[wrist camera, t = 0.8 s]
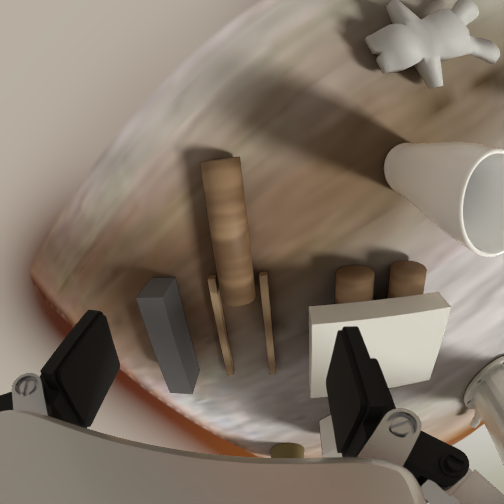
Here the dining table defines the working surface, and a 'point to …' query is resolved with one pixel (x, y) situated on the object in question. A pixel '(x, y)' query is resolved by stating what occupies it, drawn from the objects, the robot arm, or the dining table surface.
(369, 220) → the dining table surface
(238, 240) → the roller
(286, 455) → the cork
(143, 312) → the grey rectangular bar
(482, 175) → the white cup
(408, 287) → the track
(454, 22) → the bunny figurine
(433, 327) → the slab
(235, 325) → the dining table surface
